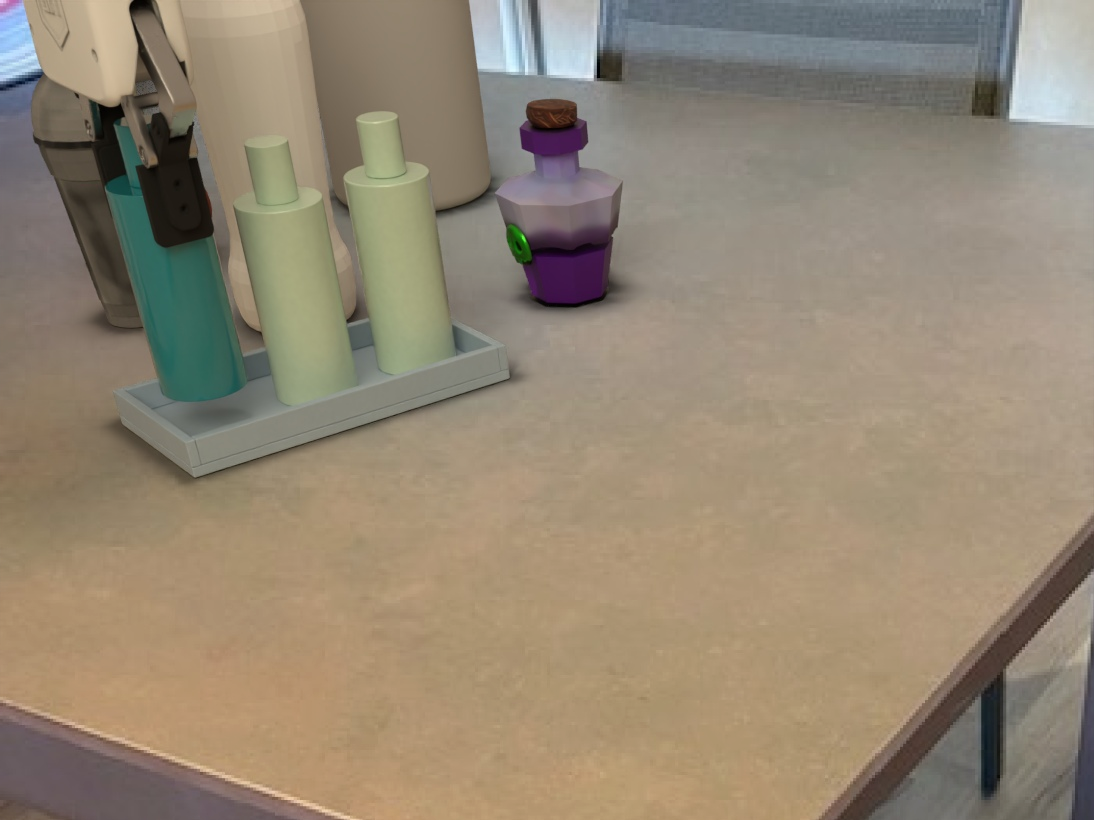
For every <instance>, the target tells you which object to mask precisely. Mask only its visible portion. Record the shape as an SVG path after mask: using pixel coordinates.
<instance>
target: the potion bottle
mask: <svg viewBox="0 0 1094 820" xmlns="http://www.w3.org/2000/svg"><path fill="white" fill-rule="evenodd" d="M525 107H526V108H525V115H526V120H525V121H524V122H523V123H522V124H521V125H520V126H519V128H518V129H519V137H520V147H521V150H523V151H525V152H528V153H530V154H532V155H533V161H534V162H533V163H534V169H535V170H531V171H528V172H525V173H521V174H517V175H515V176H511V177H507V178H506V180H505V181H504V182H503V183H502V184H500V186H499V188H497V190H496V191H495V192H494V195H495V199H496V201H497V205H498V209H499V211H500V213H501V217H502V220H503V223H504V226H505V229H506V230H505V237H506V242H507V245H508V248H509V250H510V252H511V255H512V257H514V259H515V262H516V263H517V264H520V265H522V269H523V271H524V274H525V277H526V280H527V283H528V286H529V289H530V292H531V295H530V296H529V299H530V300H533V301H535V302H536V303H538V304H540V305H542V306H544V307H553V308H554V307H556V308H559V307H560V308H578V307H582V306H583V307H584V306H586V305H589V304H594V303H597V302H600V301H604V300H605V298H606V296H607V294H608V293H609V292H610V290H611V288H610V287H608V286H609V277H610V268H611V261H612V252H613V244H614V236H613V234H614V232H615V231H616V229H617V228H618V226H619V218H620V210H621V203H622V202H621V201H622V195H623V194H622V193H623V186H624V179H622V178H619V177H617V176H615V175H612V174H609V173H607V172H604V171H603V170H599V169H597V168H590V167H582V166H580V156H579V151H582V150H584V149H585V147H586V146H587V145H588V143H589V133H588V122H587V120H584V119H582V118H580V117H578V104H577V103H576V102H575V101H572V100H570V99H569V100H568V99H563V98H545V99H543V98H542V99H534V100H531V101H529V102H528V103H527V104H526V106H525Z"/></svg>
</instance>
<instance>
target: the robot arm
mask: <svg viewBox="0 0 1094 820" xmlns="http://www.w3.org/2000/svg"><path fill="white" fill-rule="evenodd" d="M22 4H23V6H24V7H23V8H24V11H25V15H26V20H27V24H28V27H29V31H30V34H31V39H32V43H33V46H34V47H33V48H34V50H35V55H36V58H37V61H38V64H39V67H40V69H41V70H42V72H43V74H44V73H45V74H46V76H47V77H49V78H50V79H51V80H52V81H54V82H55V83H57V84H59V85H61V86H63V87H64V88H66V89H68V90H71V91H73V92H74V94H75V96H76V97H77V98H79V100H80V105H81V110H82V116H83V121H84V126H85V130H86V132H87V135H88V137H89V138H90V140H91V141H92V142H94V141H98V140H101V142H97V143H93V144H91V146H92V150H93V153H94V157H95V161H96V164H97V168H98V172H99V175H100V179H101V182H102V186H103V190H104V193H105V197H106V200H107V204H108V208H109V211H110V215H111V217H112V213H111V210H110V206H109V202H108V199H107V195H106V192H105V186H106V184H107V183H108V182H110V181H111V180H113V179H115V178H118V177H120V176H123V175H126V170H125V166H124V162H123V159H122V155H121V151H120V147H119V144H118V140H117V136H116V132H115V129H114V125H113V123H114V122H115V121H116V120H118V119H120V118H123V117H126V119H127V122H128V125H129V128H130V131H131V134H132V136H133V139H134V142H135V145H136V148H137V151H138V154H139V156H140V159H141V161H142V163H143V164H142V165H137V166H135V168H136V172H137V175H138V179H139V183H140V187H141V191H142V194H143V198H144V202H145V206H146V210H147V213H148V217H149V221H150V225H151V229H152V233H153V236H154V240H155V242H156V243H157V244H158V245H160V246H162V247H164V248H168V247H172V246H176V245H180V244H184V243H188V242H192V241H196V240H200V239H204V238H208V237H211V236H212V235H213V233H215V225H214V222H213V216H212V217H211V213H210V209H209V205H208V201H207V196H206V192H205V189H206V187H205V185H204V180H203V175H202V171H201V167H200V163H199V160H198V157H199V147H198V144H197V141H196V138H195V136H194V126H195V121H194V118H195V115H196V109H197V104H196V99H195V96H194V94H193V91H192V89H191V87H190V86H191V85H192V83H193V80H194V67H193V61H192V55H191V49H190V44H189V39H188V35H187V30H186V26H185V21H184V17H183V13H182V9H181V5H180V1H179V0H22ZM148 81H150V82H152V83H153V86H154V88H155V90H156V91H153V92H148V93H147V92H146V93H143V94H138V92H137V91H138V90H137V84H138V83H143V82H148ZM154 108H158V109H159V111H158V112H155V113H152V114H151V115H152V118H151V125H150V132H149V130H148V127H147V124H146V121H145V118H144V115H143V112H142V110H143V111H145V110H146V111H147V110H150V109H154ZM204 187H205V188H204ZM112 218H113V217H112Z"/></svg>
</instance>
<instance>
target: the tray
mask: <svg viewBox="0 0 1094 820" xmlns="http://www.w3.org/2000/svg"><path fill="white" fill-rule="evenodd" d="M451 321H452V328H453V334H454V341H455V348H456V355H457V356H455V357H452V358H448V359H445V360H442V361H438V362H435V363H432V364H429V365H425V366H422V367H419V368H415V369H412V370H409V371H406V372H402V373H399V374H396V375H391V374H388V373H385V372H383V371H381V370H380V369H379V368H378V366H377V362H376V356H375V351H374V345H373V340H372V334H371V329H370V323H369V318H368V317H366V318H363V319H359V320H356V321H352V322H347V326H348V332H349V337H350V342H351V348H352V353H353V358H354V363H355V369H356V374H357V379H358V384H359V386H356V387H353V388H350V389H346V390H343V391H340V392H336V393H333V394H330V395H326V396H323V397H320V398H317V399H313V400H310V401H307V402H303V403H300V404H297V405H293V406H289V405H286V404H283V403H281V402H280V401H279V400H278V399H277V397H276V394H275V390H274V385H273V381H272V376H271V372H270V367H269V363H268V359H267V354H266V350H265V346H263V347H260V348H257V349H254V350H250V351H246V352H242V354H243V359H244V363H245V367H246V371H247V375H248V382H247V384H246V385H245V386H244V387H243V388H242V389H241V390H239V391H237V392H235V393H233V394H230V395H228V396H225V397H222V398H218V399H213V400H207V401H198V402H184V401H176V400H172V399H169V398H167V397H165V396H164V395H163V394H162V393H161V390H160V387H159V383H158V380H157V377H154V378H151V379H147V380H143V381H140V382H137V383H133V384H130V385H126V386H123V387H119V388H116V389H112V393H113V397H114V401H115V404H116V407H117V411H118V414H119V418H120V421H121V424H122V425H123V426H124V427H125V428H126V429H128V430H130V431H131V432H132V433H134V434H135V435H136V436H138V437H139V438H140V439H142V440H143V441H144V442H146V443H147V444H149V445H150V446H151V447H152V448H154V449H155V450H157V451H158V452H159V453H160V454H162V455H163V456H165V457H166V458H167V459H168V460H170V461H171V462H172V463H174V464H175V465H176V466H177V467H179V468H181V469H182V470H184V471H185V472H186V473H187V474H189V475H190V476H192V477H193V478H194V479H195V478H196V479H197V478H199V477H203V476H205V475H209V474H212V473H214V472H218V471H221V470H225V469H228V468H231V467H234V466H237V465H241V464H243V463H247V462H249V461H252V460H255V459H259V458H262V457H265V456H268V455H271V454H275V453H278V452H281V451H285V450H288V449H291V448H295V447H298V446H300V445H303V444H307V443H310V442H314V441H316V440H319V439H322V438H325V437H328V436H332V435H335V434H339V433H341V432H345V431H348V430H351V429H354V428H357V427H360V426H363V425H367V424H369V423H373V422H376V421H380V420H382V419H386V418H389V417H392V416H395V415H398V414H402V413H404V412H409V411H412V410H414V409H417V408H420V407H424V406H427V405H430V404H433V403H436V402H440V401H443V400H445V399H449V398H452V397H455V396H458V395H461V394H465V393H468V392H471V391H474V390H477V389H480V388H483V387H487V386H490V385H493V384H497V383H500V382H502V381H507V380H508V379H510V378H511V376H510V369H509V360H508V352H507V347H506V346H507V345H506V344H505V343H503V342H501V341H498V340H497V339H495V338H493V337H491V336H489V335H487V334H484V333H482V332H480V331H479V330H476V329H475V328H473V327H471V326H469V325H466V324H464V322H461V321H458V320H457V319H455V318H453V317H451Z"/></svg>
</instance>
